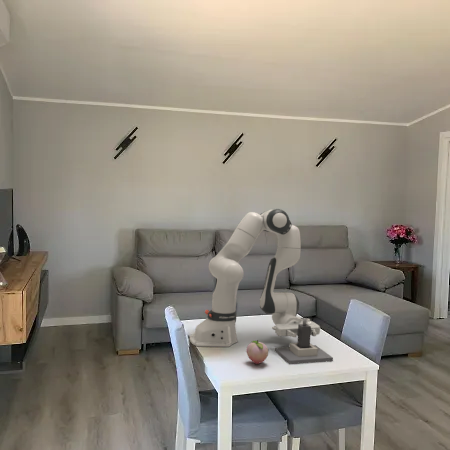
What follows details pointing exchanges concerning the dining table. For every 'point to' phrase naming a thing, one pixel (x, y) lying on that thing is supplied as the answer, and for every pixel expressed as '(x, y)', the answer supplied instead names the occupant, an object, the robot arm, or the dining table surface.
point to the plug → (304, 335)
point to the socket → (302, 354)
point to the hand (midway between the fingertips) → (305, 335)
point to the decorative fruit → (257, 351)
